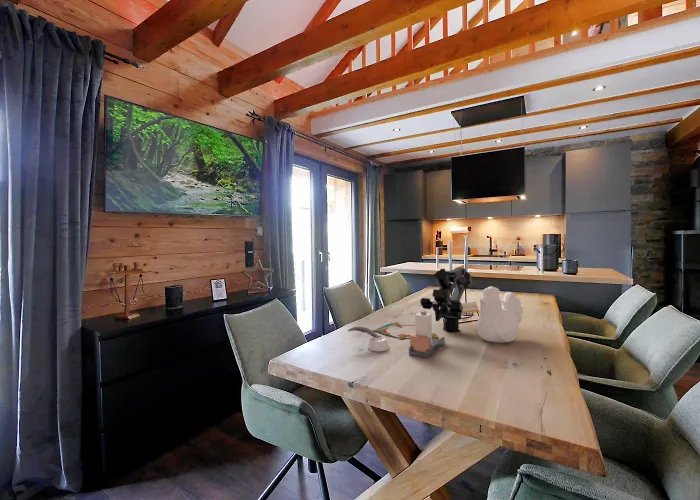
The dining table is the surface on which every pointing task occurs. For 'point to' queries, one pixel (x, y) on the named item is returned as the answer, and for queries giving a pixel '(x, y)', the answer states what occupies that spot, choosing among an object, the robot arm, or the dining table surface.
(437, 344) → the rail
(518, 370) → the dining table surface
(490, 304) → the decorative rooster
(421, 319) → the block
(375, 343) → the inkwell
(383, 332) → the ribbon cable
